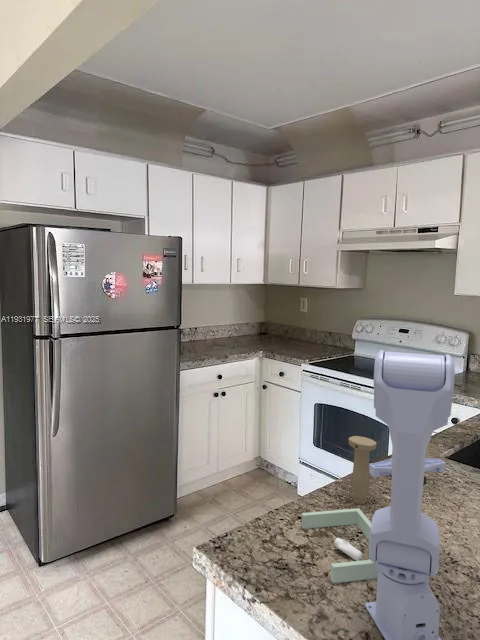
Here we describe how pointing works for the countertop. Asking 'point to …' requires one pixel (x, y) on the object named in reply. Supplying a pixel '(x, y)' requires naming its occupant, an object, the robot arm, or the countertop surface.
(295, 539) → the countertop surface
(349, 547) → the small white plastic part
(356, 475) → the handle
